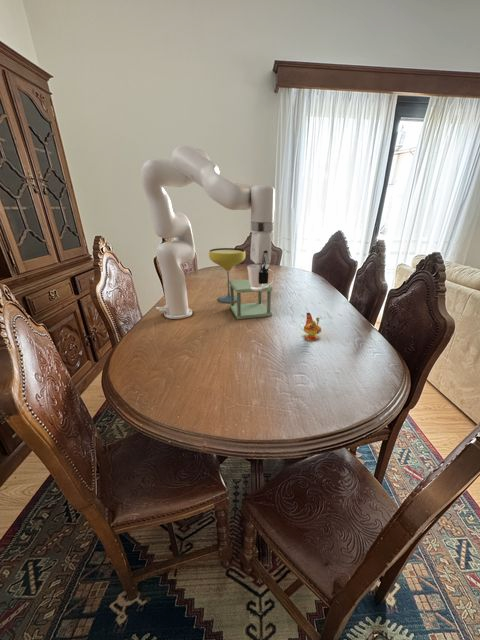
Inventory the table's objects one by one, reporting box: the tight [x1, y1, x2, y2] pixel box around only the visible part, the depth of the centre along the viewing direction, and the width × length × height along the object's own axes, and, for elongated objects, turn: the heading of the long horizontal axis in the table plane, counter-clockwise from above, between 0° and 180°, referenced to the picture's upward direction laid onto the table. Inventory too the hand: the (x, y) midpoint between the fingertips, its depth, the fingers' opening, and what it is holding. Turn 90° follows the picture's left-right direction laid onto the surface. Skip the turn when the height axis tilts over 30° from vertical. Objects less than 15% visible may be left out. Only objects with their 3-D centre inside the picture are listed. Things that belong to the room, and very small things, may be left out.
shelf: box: [229, 278, 273, 320], centre depth 134 cm, size 16×16×14 cm
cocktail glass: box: [208, 247, 246, 304], centre depth 147 cm, size 18×18×25 cm
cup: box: [246, 263, 275, 291], centre depth 103 cm, size 7×10×8 cm
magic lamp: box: [303, 312, 323, 342], centre depth 111 cm, size 7×18×11 cm, turn 3°
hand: (260, 280), depth 104 cm, fingers closed on cup, 6 cm apart
